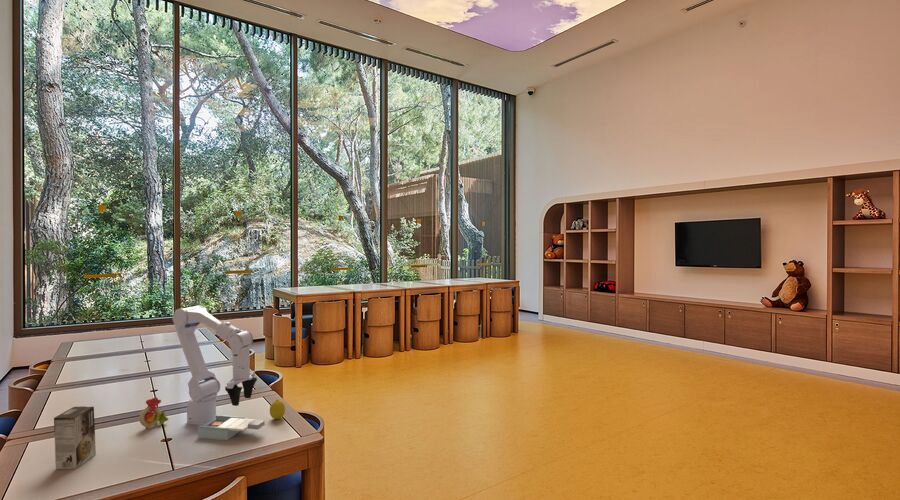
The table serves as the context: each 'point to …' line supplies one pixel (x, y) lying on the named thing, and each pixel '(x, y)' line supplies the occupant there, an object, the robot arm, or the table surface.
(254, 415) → the table surface
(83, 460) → the coffee box
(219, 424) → the block
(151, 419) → the bird rattle
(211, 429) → the tub
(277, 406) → the lemon
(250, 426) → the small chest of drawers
